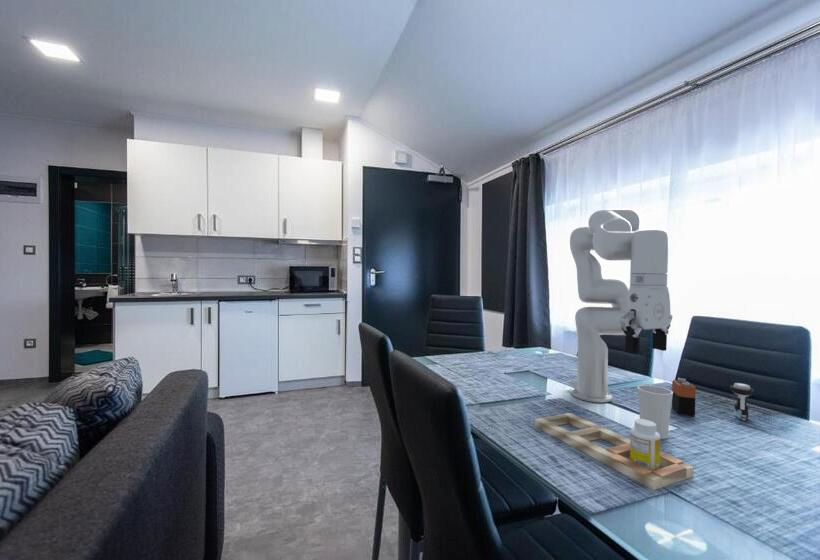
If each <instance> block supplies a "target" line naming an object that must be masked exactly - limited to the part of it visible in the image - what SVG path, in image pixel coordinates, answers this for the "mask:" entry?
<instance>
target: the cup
mask: <svg viewBox="0 0 820 560" xmlns="http://www.w3.org/2000/svg"><path fill="white" fill-rule="evenodd" d="M636 388H637V389H636V390H637V398H638V408H639V409H638V410H639V411H638V412H639V419H644V420H649V421H652V422H654V423H655V424H656V432H658V433H659V434H660V440H666V439H668V438H669V428H670V419H671V410H672V397H673V392H672V390H670V389H669V388H665V387H662V386H657V385H656V386H655V385H652V384H651V385H650V384H649V385H648V384H645V385H644V384H642V385H641V384H640V385H638V386H637V387H636Z"/></svg>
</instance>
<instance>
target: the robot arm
mask: <svg viewBox="0 0 820 560" xmlns="http://www.w3.org/2000/svg"><path fill="white" fill-rule="evenodd" d="M587 223H588V226H581V227H577V228H575V229H573V230H572V232H571V233H570V237H569V247H570V252H571V255H572V257H573V259H574V263H575V265H576V278H577V282H576V283H577V292H578V299H579V300H580V301H581V302H582V303H585V304H596V305H597V304H599V305H600V304H602V305H603V304H606V305H611V306H612V307H609V306H584V307H581V308H579V309H578V310H577V311H576V313H575V316H574V322H575V327H576V336H577V358H576V359H577V365H576V366H577V367H576V373H577V374H576V379H575V378H572V379H571V380H570V381H569V385H571V386H574V388H573V390H571V394H572V396H573V397H575V398H576V399H579V400H582V401H586V402H590V403H591V402H592V403H598V404H599V403H601V404H602V403H603V404H604V403H610V402H611V401H613V395H612V394H610V393H608V368H609V367H608V365H609V364H608V363H609V349H608V346H607V343H606V342H605V341H604V340H603V339H602V337H601V336H602V335H603V336H604V335H608V336H612V335H613V336H625V338H624V339H625V340H624V341H625V342H624V343H625V344H624V345H625V346H624V348H625V349H624V351H625V352H626V353H629V354H632V355H639V354H640V339H641V337H639V335H640V333H641V332H642V330H645V331H647V330H648V331H649V330H653V331H654V332H652V333H651V334H652V336H651V338H652V339H651V341H652V342H651V348H652V349H654V350H658V351H663V352H665V351H667V343H668V342H667V340H668V334H669V328H671V322H672V321H673V315H672V314H671V298H670V292H669V287H668V268H669V265H668V264H669V244H670V243H669V242H670V240H669V237H670V236H669V233H668V231H667V230H665V229H661V228H660V229H659V228H658V229H657V228H656V229H655V228H654V229H653V228H651V229H641V230H640V227H641V216H640V215H639V213H638V212H637V211H636V210H634V209H632V208H631V209H630V208H615V209H614V208H608V209H607V208H606V209H599V210H597V211H594V212H593V213H592V214H591V215H590V217H589V218H588V222H587ZM592 251H595V253H596V254H597V255H598V256H599V257H600V258H601V259H604V260H606V261H630V266H629V267H630V268H629V269H630V275H629V286H628V282H627V281H626V280H625V279H623V278H622V277H617V276H604V268H603V266H604V265H603V263H602V261H601V260H600V259H599V257H598V256H597V255H596V254H594V253H593V252H592Z"/></svg>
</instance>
